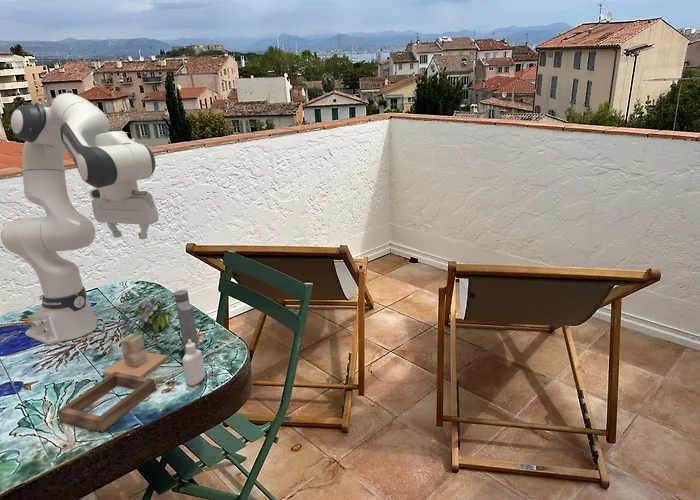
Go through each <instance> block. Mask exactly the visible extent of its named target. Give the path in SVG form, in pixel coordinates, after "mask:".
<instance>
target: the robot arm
mask: <svg viewBox="0 0 700 500" xmlns="http://www.w3.org/2000/svg"><path fill="white" fill-rule="evenodd" d="M10 129H11V131H12V133H13V135H14V136H15V137H16V138H17V139H19V140H22V141H23V142H24V144H23V149H22V158H21V163H22V164H21V167H22V169H21V170H22V180H23V181H22V182H23V191H24V193H23V194H24V196H25V198H26V199H27V200H28V201H29V202H31V204H33V205H34V204H35V205H37V206H38V207H39V206H40V207H42V208H43V209H44V211H45V214H46V216H41V217H29V218H21V219H17V220H13V221H10V222H7V223H6V224H5V225H4V226H3V228H2V230H1V233H0V234H1V235H0V238H1V242H2V245H3V247H4V248H6V249H7V250H8V251H9V252H11V253H13V254H15V255H17V256H18V257H20V258H22V259H23V260H25V261H26V263H28V264H29V265H30V266H31V268H32V269H33V271H34V272H35V274H36V276H37V278H38V281H39V283H40V286H41V290H42V295H40V296H38V298H39V301H40V300H41V301H42V302H41V306H40V307H39V308H38V309H37V311H35V313H33V314H32V315H31V318H30V319H31V322H30V323H31V327H29V328H28V329H27V330H26V331H25V332H24V334H25V335H24V336H27V337H30V338H32V339H34V340H36V341H38V342H41V343H42V344H45V345H51V344H56V343H59V342H64V341H70V340H73V339H74V340H75V339H77V338H81V337H83V336H86V335H88V334H90V333H92V332H94V330H96V329H97V328H98V320H99V318H98V316H97V315H95V313H94V310H93V307H92V304H91V301H90V299H88V298H87V297H88V295H87V291H86V288H85V286H83V282H82V277H81V273H80V269H79V267H78V266H77V264H76V263H75V262H73V261H71V260H69V259H65V258H63V256H61V255H59V253H58V252H64V251H75V250H79V249H82V248H86V247H89V246H90V245H92V244H93V242H94V240H95V238H96V228H95V225H94V223H93V222H92V220H90V219H89V218H88V217H86V215H83V213H81V212H80V211H78V210H77V209H76V208H75V207H74V205H73V203H72V202H71V200H70V197H69V194H68V188H67V187H68V186H67V180H66V170H65V163H64V156H65V153H66V152H67V153H68V154H69V156H70V158H71V160H72V161H73V163H74V164H75V165H76V169H77V170H78V173H79V175H80V177H81V179H82V181H84V182H85V183H86V184H88V185H90V186H91V187H93V188H94V189H91V190H90V191H89V192H88V193H89V196H90V198H91V199H92V200H91V208H92V212H93V217H94V219H95V220H96V221H97V222H98V223H106V225H107V228H109V230H110V232H111V233H112V237H113V238H114V239H115V238H121V237H122V235H123V234H122V230H119V228H118V227H117V224H124V225H126V224H127V225H128V224H129V225H138V226H139V228H140V232H139V233H137V235H138V239H139V240H146V239H148V233H147V232H148V230H149V228H150V225H153V224H156V223H158V221H159V219H160V218H159V213H158V210H157V207H156V203H155V201H154V198H153V195H152V194H151V193H149V192H148V191H147V190H139V186H138V181H141V180H145V179H148V178H150V177H151V176H153V174H154V172H155V169H156V166H157V165H156V159H155V155H154V153H153V151H152V150H151V149H150V148H149V147H148V146H147V145H145V144H144V143H139V142H136V141H135V140H132V139H130V137H128V134H127V133H126V132H125V131H124V130H113V129H112V130H110V122H109V119H108V117H107V116H106V114H105V113H104V111H102V110H101V109H100V108H99V107H98V106H96V105H95V104H94V103H92V102H90V101H89V100H88V99H86V98H84V97H82V96H80V95H77V94H75V93H71V92H64V93H60V94H58V95H57V96H55V98H54V99H53V100H52V102H51V105H50V106H42V105H41V104H40V103H35V104H22V105H19V106H17V107H16V108H14V109H13V111H12V112H11V116H10Z"/></svg>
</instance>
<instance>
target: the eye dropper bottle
mask: <svg viewBox="0 0 700 500" xmlns="http://www.w3.org/2000/svg"><path fill="white" fill-rule="evenodd" d="M185 347H186V354H185V353H184V356H183V358H182V367H183V368H182V369H183V373H184V379H185V384H186V385H187V386H195V385H197V384H200V383H201V381H203V379H204V378H205V377H206V370H205V365H204V358H203V352H202V350H200V349H199V350H196V346H195V343H192V341H191V339H189V340H188V344H186V345H185Z"/></svg>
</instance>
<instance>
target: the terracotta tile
mask: <svg viewBox="0 0 700 500" xmlns="http://www.w3.org/2000/svg"><path fill="white" fill-rule="evenodd" d="M146 356H147V361H146V362H145V363H144V364H142V365H141V366H139V367H138V368H134V367H128V366H126V365H125V360H124V357H122V358H121V359H119V360H118V361H116V362H114V364H112V365H110V366H109V367H108V368H106V369H103V371H102V375H103V376H106V377H108V376H110V375H111V374H112V373H114V372H118V373H124V374H129V375H134V376H139V377H144V378H145V377H146V376H147V375H148V374H150V373H152V372H153V371H154V370H155V369H157V368H158V367H159V366H161V365H162V364H163V363H164V362H166V361H167V360H169V355H168V354H167V355H165V354H159V353H154V352H150V351H149V352H148V351H146Z"/></svg>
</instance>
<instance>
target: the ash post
mask: <svg viewBox="0 0 700 500" xmlns="http://www.w3.org/2000/svg"><path fill="white" fill-rule="evenodd" d="M119 342H120V346H121V351H122V354H123V358H124V360H125V365H126V366H128V367H134V368H138V367H139V366H141V365H142V364H144V363H145V362H146V361H147V356H146V352H147V351H146V346H145V341H144V336H143V335H141V334H135V333H130V334H129V335H127V336H125V337H124V338H122V339H121V340H119Z"/></svg>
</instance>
